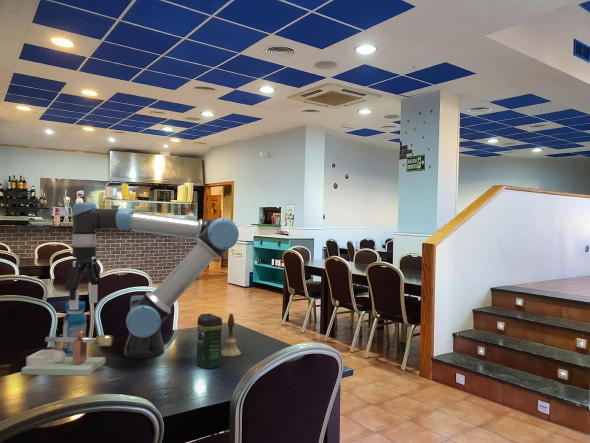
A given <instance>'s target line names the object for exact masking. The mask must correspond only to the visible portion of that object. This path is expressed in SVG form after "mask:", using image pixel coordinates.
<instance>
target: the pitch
mask: <svg viewBox="0 0 590 443" xmlns="http://www.w3.org/2000/svg"><path fill="white" fill-rule="evenodd" d="M57 351H60V350H59V349H41V350H39V351H37V352H35V353H32V354H30V355H28V356H26V359H25V360H26V361H25V366H24V367H21V374H20V375H30V376H31V375H34V376H35V375H37V376H38V375H39V376H82V377H83V376H85V377H87V376H89V375H90V374H92V373H93V372H95V371H96V370H97V369H99V368H100V367H102V366H103V365H104V364H106V357H105V356H103V357H101V356H99V357H98V356H87V359H86V360H85V361H83V362H82V363H80V364H73V356H66V358H65V360H64V361H63V362H60V363H57V362H55V361H54V360H53V355H54V354H55V353H56V352H57Z"/></svg>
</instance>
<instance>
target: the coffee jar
mask: <svg viewBox="0 0 590 443" xmlns="http://www.w3.org/2000/svg"><path fill="white" fill-rule="evenodd" d="M196 325H197V343H196V345H197V346H196V358H195V360H196V362H195V363H196V364H197V365H198V366H199V367H201V368H204V369H207V368H208V369H215V368H217V367H219V366H221V364H222V355H221V351H222V329H223V318H222V317H221V316H217V315H214V314H213V313H203V314H200V315H199V316H198V317H197V323H196Z"/></svg>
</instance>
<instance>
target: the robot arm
mask: <svg viewBox="0 0 590 443" xmlns="http://www.w3.org/2000/svg"><path fill="white" fill-rule="evenodd" d="M72 208H73V210H72V237H71V238H72V245H73V246H74V247H72V257H73V258H75V260H71V261H70V267H69V271H68V276H67V279H66V283H65V288H64V289H65V291H69V298H68V299H69V301H68V302H69V310H78V301H79V290H78V288H79V285H80V283H81V280H82V278H83V275H84V274H86V277H87V279H88V281H89V283H90V284H89V292H88V293H89V294H88V295H89V299H88V300H89V301H88V302H89V304H90V303H94V304H97V303H98V285H101V284H102V283H101V281H102V279H101V278H102V277H101V276H100V271H99V267H98V260H97V258H95V257H96V256H97V247H96V246H97V230H111V231H112V230H114V231H115V230H119V231H128V232H136V233H137V232H138V233H145V234H153V235H159V236H161V235H162V236H167V237H169V236H170V237H177V238H183V239H184V238H185V239H192V240H196V241H195V242H197V243H196V245H195V246H194V247H193V248H192V249H191V250H190V251H189V252H188V253H187V255H186V256H185V257H184V258H183V259H182V260H181V261H180V262H179V263H178V264H177V265H176V266H175V267H174V269H173V270H172V271H171V272H170V273H169V274H168V275H167V276H166V277H165V278H164V280H162V282H161V283H160V284H158V286H156V288H155V289H154V290H153V291H152V292H146V293H145V294H144V295H132V296H131V297H130V302H129V304H130V307H129V309H130V310H129V312H127V315H126V318H125V324H126V327H127V330H128V331H129V333H128V334H129V335H128V338H127V341H126V343H125V346H124V350H123V351H124V352H123V355H124V357H126V358H129V359H150V358H151V359H152V358H156V357H159V356H162V355H163V354H164V353H165V344H164V340H163V338H162V334H161V326H162V323H163V322H164V321H165V320H166V319H167V317H169V315H170V314H171V313H172V312H171V311H172V310H171V308H172V306H173V305H174V304H175V303H176V301H177V300H178V299H179V298H180V297H181V296H182V295H183V294H184V293H185V291H186V290H187V289H188V288H189V287H190V286H191V285H192V284H193V283H194V281H196V280H197V279H198V277H199V276H200V275H201V274H202V273H203V272H204V271H205V269H206V268H207V267H208V266H209V265H210V264H211V263H212V262H213V261H214V260H215V259H220V258H222V257H223V256H224V254H225V253H227V251H228V250H229V249H231V248H232V247H234V246H235V245H236V244H237V242H238V240H239V235H240V234H239V227H238V226H237V225H236V224H235V223H234V221H233V220H231V219H229V218H226V217H218V218H215V219H204V218H199V220H194V219H193V220H192V219H188V218H187V219H185V218H179V217H171V216H164V215H158V214H157V215H156V214H149V213H142V212H137V211H136V212H135V211H132V210H131V209H129V208H128V209H127V208H98V207H97V204H96V203H95V202H76V203H74V204H73V207H72Z"/></svg>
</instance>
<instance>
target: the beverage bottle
mask: <svg viewBox="0 0 590 443" xmlns="http://www.w3.org/2000/svg"><path fill="white" fill-rule="evenodd" d="M85 309H86V301H83V300H82V301H81V300H78V310H69V301H67V302H66V303H65V312H66V313H65V315H64V317H63V319H62V320H63V325H62V333H63V334H62V337H72V338H78V337H77V336H76V334H77V332H78V331H80V330H83V331H84V332H85V336H84V337H87V327H88V326H87V322H86V321H87V315H86V314H85V313H84V311H85ZM73 345H74V342H62V349H61V351H63V352H65V354H66V357H73Z"/></svg>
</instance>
